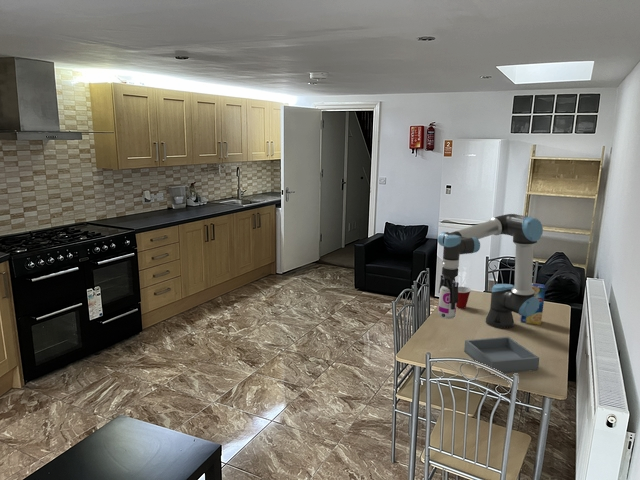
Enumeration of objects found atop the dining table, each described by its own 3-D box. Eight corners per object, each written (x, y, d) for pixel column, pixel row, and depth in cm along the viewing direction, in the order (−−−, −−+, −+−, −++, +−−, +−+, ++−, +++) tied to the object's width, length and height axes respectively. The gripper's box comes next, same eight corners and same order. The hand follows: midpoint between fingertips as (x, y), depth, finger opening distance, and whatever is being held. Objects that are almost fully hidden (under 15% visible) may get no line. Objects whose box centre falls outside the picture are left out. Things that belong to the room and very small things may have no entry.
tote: (507, 347, 245) (508, 336, 243) (538, 369, 222) (539, 357, 221) (464, 351, 239) (465, 340, 238) (491, 374, 217) (492, 362, 215)
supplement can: (455, 320, 233) (458, 290, 230) (438, 318, 234) (440, 289, 231) (454, 314, 241) (457, 285, 237) (437, 312, 242) (439, 284, 239)
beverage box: (519, 318, 286) (523, 282, 281) (539, 320, 283) (544, 284, 278) (520, 322, 279) (524, 285, 275) (541, 324, 276) (545, 287, 271)
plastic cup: (448, 304, 307) (450, 286, 304) (465, 303, 308) (466, 285, 306) (455, 310, 296) (457, 291, 294) (472, 309, 298) (474, 291, 295)
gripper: (433, 262, 241) (430, 305, 246) (453, 273, 221) (450, 320, 226) (447, 261, 243) (443, 304, 248) (468, 273, 223) (464, 319, 228)
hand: (446, 311), depth 237 cm, fingers closed on supplement can, 8 cm apart
